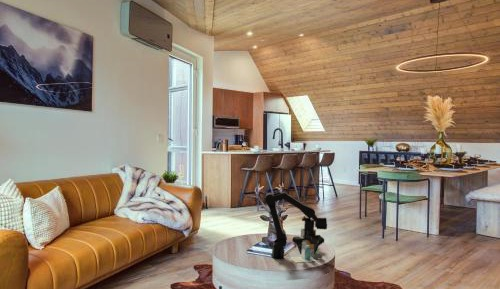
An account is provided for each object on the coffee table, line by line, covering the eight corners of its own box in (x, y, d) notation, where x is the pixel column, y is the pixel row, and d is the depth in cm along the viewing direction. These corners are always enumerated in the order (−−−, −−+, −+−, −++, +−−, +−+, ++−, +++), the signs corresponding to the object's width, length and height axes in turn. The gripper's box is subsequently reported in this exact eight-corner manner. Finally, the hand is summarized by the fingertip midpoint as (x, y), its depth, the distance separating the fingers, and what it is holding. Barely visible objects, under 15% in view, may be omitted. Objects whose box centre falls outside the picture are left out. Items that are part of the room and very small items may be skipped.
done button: (315, 256, 219) (315, 249, 219) (312, 254, 222) (312, 247, 222) (320, 256, 220) (320, 248, 220) (317, 254, 224) (317, 247, 223)
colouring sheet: (295, 262, 210) (295, 262, 210) (289, 258, 218) (289, 257, 218) (315, 261, 214) (315, 260, 214) (309, 257, 222) (309, 256, 222)
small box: (306, 250, 235) (307, 230, 234) (299, 247, 240) (300, 228, 240) (315, 248, 239) (316, 229, 239) (308, 246, 244) (309, 226, 244)
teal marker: (306, 260, 214) (306, 246, 214) (303, 257, 218) (304, 244, 218) (311, 259, 216) (312, 246, 215) (308, 257, 219) (309, 244, 219)
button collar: (314, 259, 218) (314, 255, 218) (310, 256, 223) (310, 252, 223) (321, 258, 220) (322, 254, 220) (317, 255, 224) (318, 252, 224)
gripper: (300, 232, 206) (299, 259, 206) (329, 231, 211) (328, 257, 212) (292, 227, 216) (291, 253, 217) (320, 226, 222) (319, 251, 222)
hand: (307, 253), depth 217 cm, fingers open, 9 cm apart
